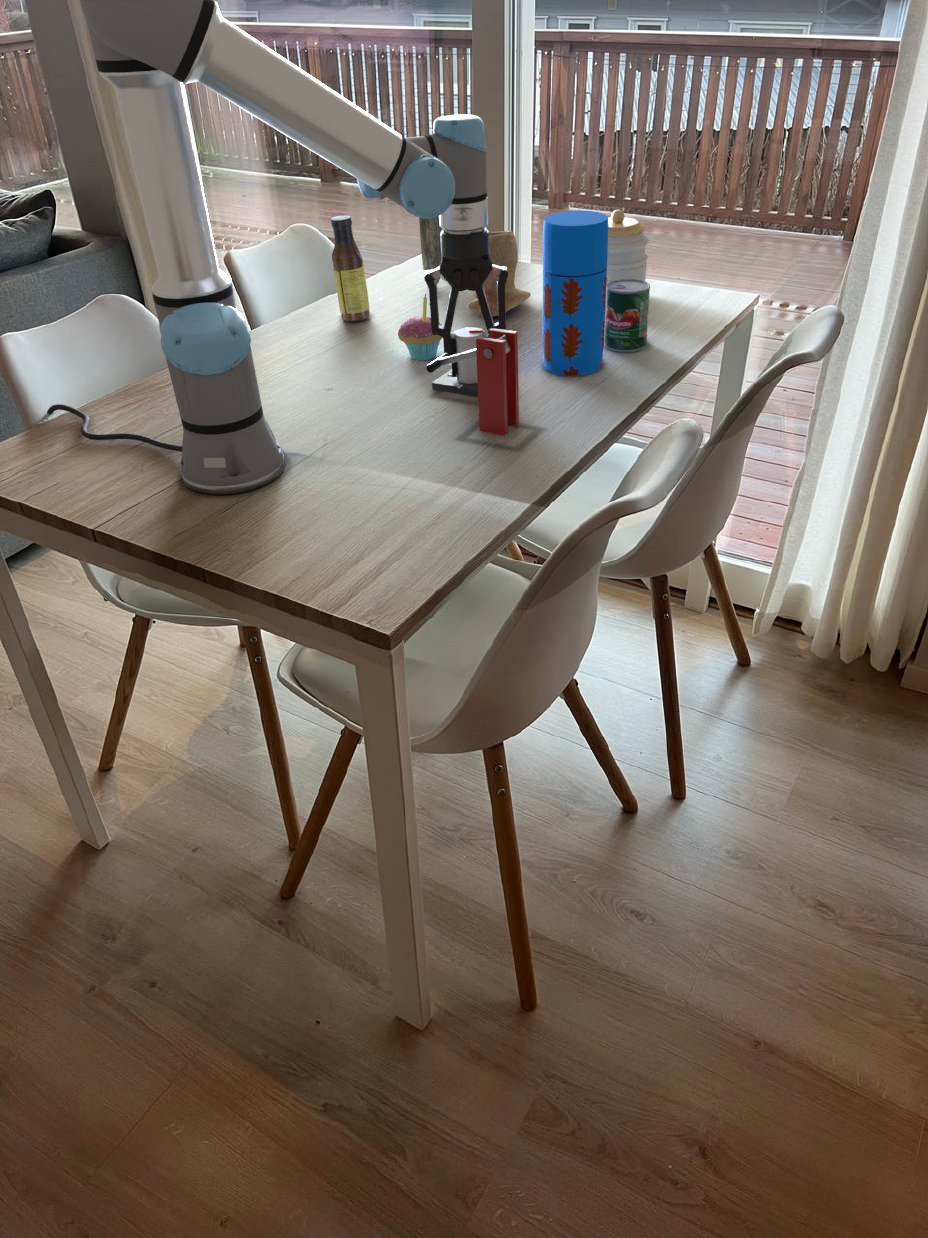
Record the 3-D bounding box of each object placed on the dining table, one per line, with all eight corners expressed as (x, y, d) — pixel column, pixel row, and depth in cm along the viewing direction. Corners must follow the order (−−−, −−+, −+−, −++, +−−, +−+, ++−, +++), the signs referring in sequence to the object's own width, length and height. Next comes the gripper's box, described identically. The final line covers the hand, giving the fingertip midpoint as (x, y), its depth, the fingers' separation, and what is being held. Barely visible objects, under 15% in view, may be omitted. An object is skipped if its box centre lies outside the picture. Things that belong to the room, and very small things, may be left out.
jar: (649, 306, 191) (655, 215, 181) (586, 309, 192) (588, 219, 181) (640, 287, 202) (645, 200, 191) (580, 290, 202) (582, 203, 192)
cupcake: (454, 354, 175) (451, 289, 168) (423, 367, 170) (417, 301, 163) (422, 344, 180) (417, 281, 173) (390, 357, 175) (384, 293, 168)
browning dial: (456, 384, 156) (454, 335, 151) (457, 373, 160) (454, 325, 155) (485, 383, 156) (483, 334, 151) (485, 372, 160) (483, 324, 155)
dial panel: (431, 397, 159) (430, 382, 157) (456, 378, 165) (455, 364, 163) (488, 407, 154) (487, 392, 152) (512, 387, 160) (511, 372, 159)
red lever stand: (459, 439, 145) (453, 339, 135) (483, 419, 150) (479, 322, 141) (517, 450, 141) (515, 348, 131) (539, 429, 146) (539, 330, 137)
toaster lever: (429, 377, 143) (423, 362, 142) (446, 364, 146) (441, 350, 146) (499, 358, 135) (493, 343, 134) (515, 346, 139) (510, 330, 138)
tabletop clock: (432, 272, 219) (424, 155, 204) (470, 271, 218) (465, 154, 203) (424, 291, 207) (415, 169, 192) (464, 290, 206) (458, 167, 191)
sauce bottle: (376, 315, 195) (365, 214, 184) (358, 324, 191) (346, 222, 180) (352, 311, 198) (340, 212, 187) (333, 320, 194) (320, 219, 183)
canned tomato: (645, 337, 177) (649, 278, 171) (647, 351, 171) (651, 291, 164) (603, 337, 178) (605, 279, 171) (604, 352, 172) (606, 292, 165)
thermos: (600, 377, 162) (606, 226, 147) (539, 375, 164) (539, 226, 149) (605, 354, 171) (611, 209, 156) (547, 353, 173) (547, 210, 158)
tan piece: (489, 294, 203) (487, 221, 195) (537, 300, 198) (537, 226, 189) (452, 314, 193) (448, 239, 184) (502, 322, 188) (500, 245, 179)
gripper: (405, 237, 141) (417, 384, 155) (523, 231, 140) (524, 379, 154) (407, 225, 147) (419, 367, 161) (520, 219, 146) (522, 362, 160)
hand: (470, 372), depth 157 cm, fingers closed on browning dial, 5 cm apart
